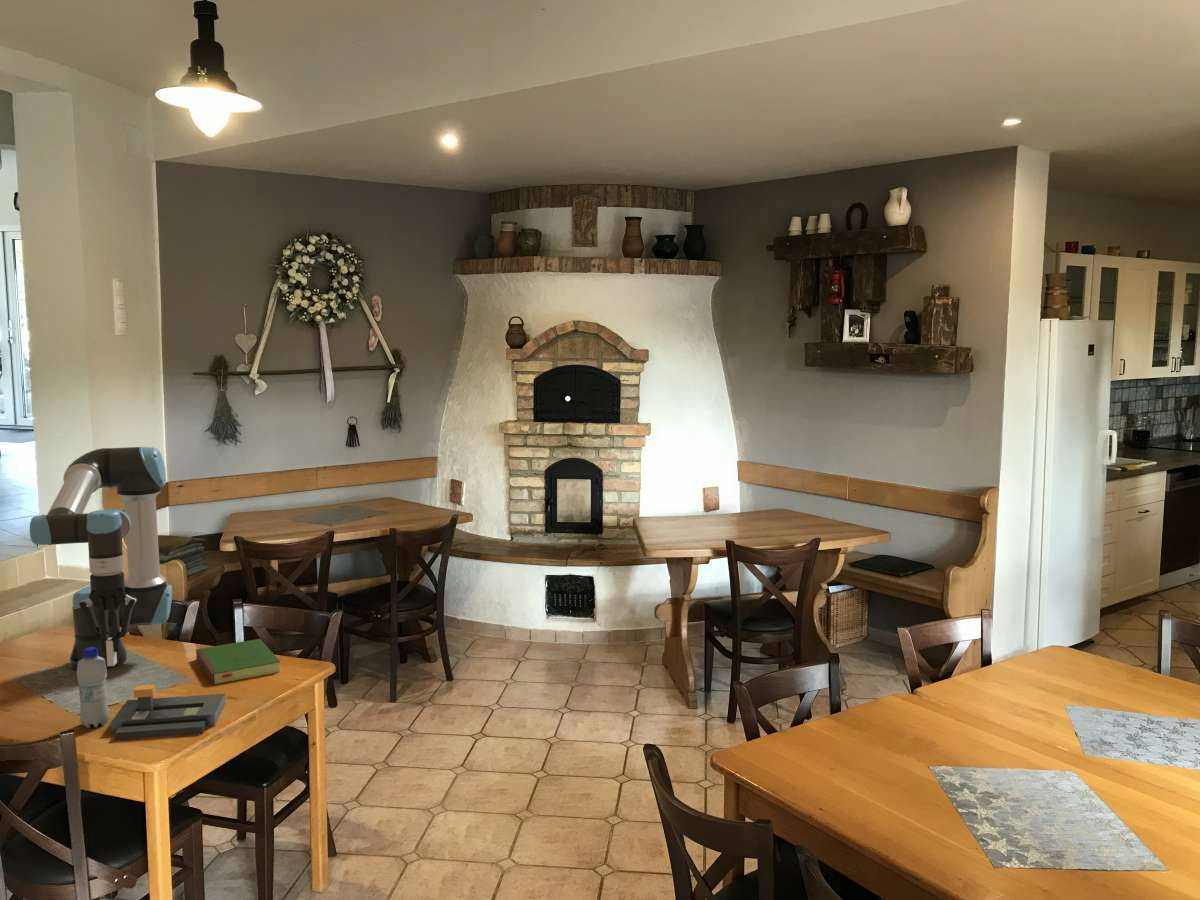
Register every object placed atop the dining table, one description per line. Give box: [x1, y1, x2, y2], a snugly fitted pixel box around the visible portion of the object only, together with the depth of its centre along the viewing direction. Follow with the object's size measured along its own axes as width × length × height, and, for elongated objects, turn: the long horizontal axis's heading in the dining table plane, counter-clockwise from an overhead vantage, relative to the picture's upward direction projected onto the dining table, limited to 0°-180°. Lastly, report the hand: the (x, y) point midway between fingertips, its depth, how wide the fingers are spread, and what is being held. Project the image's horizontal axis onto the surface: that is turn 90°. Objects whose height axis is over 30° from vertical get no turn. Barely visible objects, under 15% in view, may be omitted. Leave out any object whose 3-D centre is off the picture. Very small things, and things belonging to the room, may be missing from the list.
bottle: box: [76, 647, 110, 729], centre depth 236 cm, size 7×7×20 cm
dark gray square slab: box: [114, 721, 207, 741], centre depth 240 cm, size 21×20×2 cm
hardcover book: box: [195, 638, 281, 685], centre depth 279 cm, size 25×19×4 cm
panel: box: [110, 693, 226, 734], centre depth 241 cm, size 14×24×3 cm, turn 102°
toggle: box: [133, 684, 157, 711], centre depth 239 cm, size 3×4×7 cm
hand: (112, 664), depth 236 cm, fingers closed
